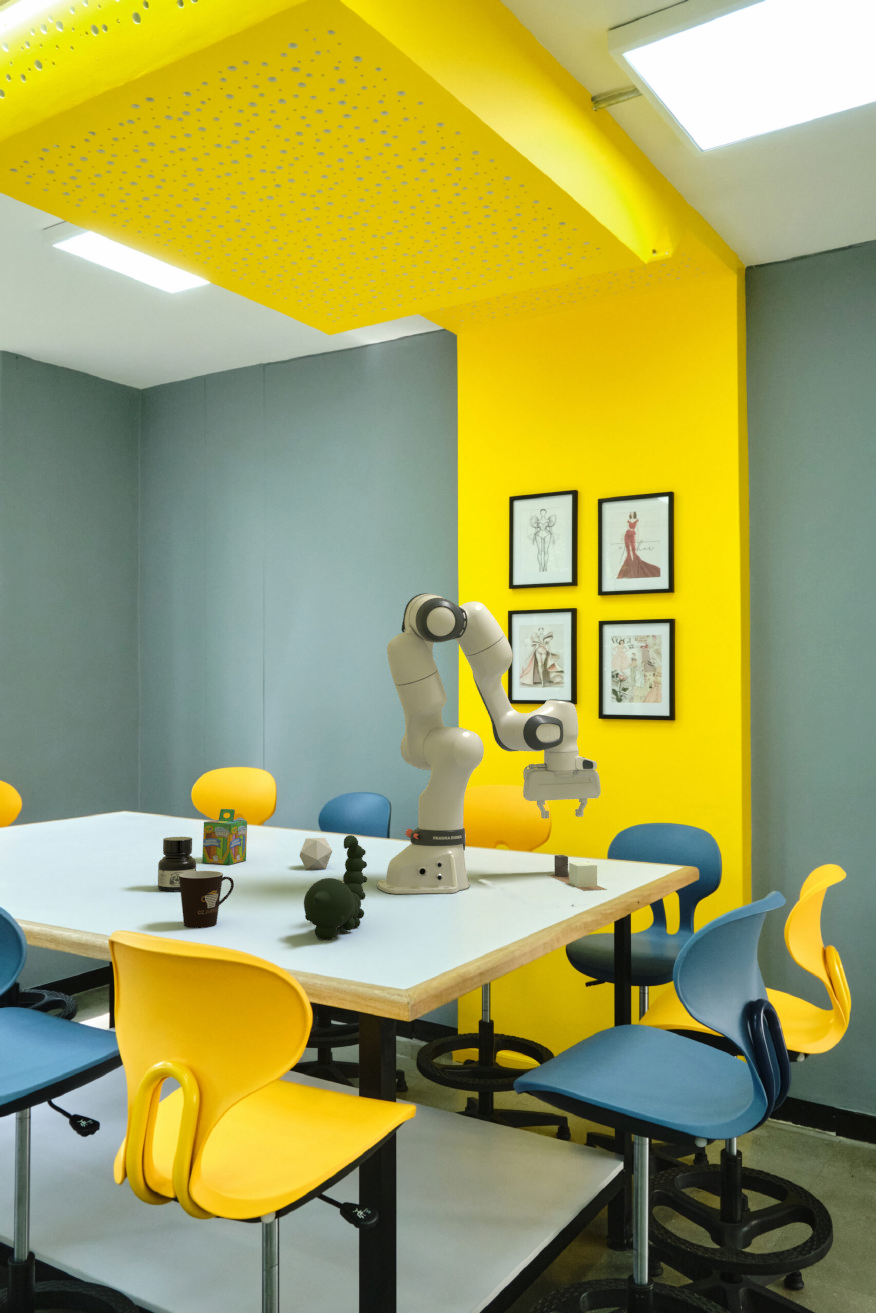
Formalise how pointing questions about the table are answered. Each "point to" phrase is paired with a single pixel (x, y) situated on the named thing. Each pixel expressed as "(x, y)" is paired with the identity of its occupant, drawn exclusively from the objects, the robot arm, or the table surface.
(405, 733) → the robot arm
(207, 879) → the coffee mug
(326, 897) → the toy figurine
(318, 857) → the die
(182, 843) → the ink bottle
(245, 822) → the chalk box
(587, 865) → the cube
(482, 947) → the table surface
